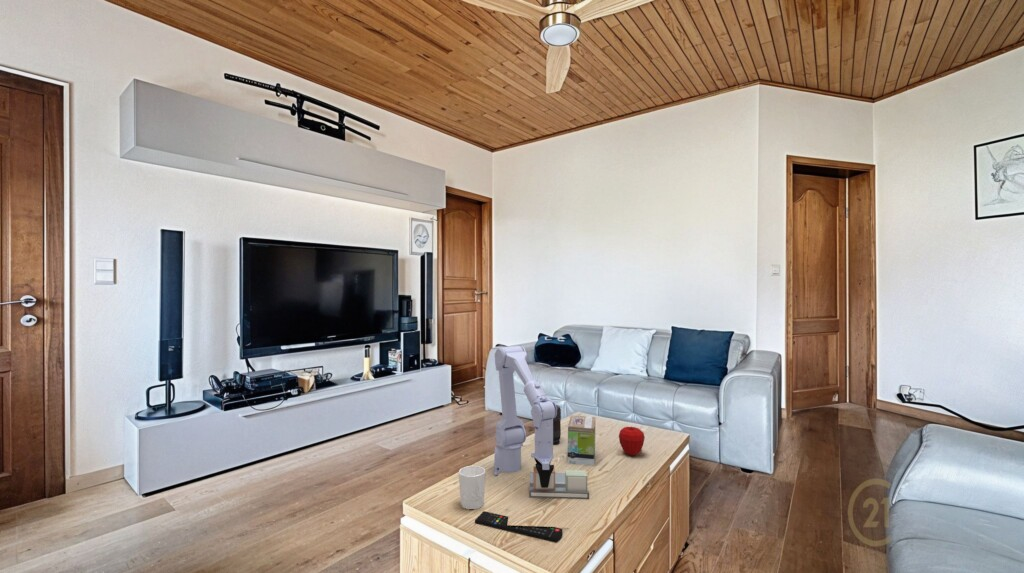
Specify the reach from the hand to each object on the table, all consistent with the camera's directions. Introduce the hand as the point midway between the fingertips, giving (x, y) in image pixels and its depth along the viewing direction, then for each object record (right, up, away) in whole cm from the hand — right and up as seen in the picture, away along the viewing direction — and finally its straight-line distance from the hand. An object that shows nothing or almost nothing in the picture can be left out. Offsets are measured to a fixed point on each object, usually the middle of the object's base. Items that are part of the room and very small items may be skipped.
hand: (543, 483), depth 136 cm
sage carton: (+10, -2, -1) cm, 10 cm away
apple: (+37, -4, +34) cm, 50 cm away
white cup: (-22, -4, -6) cm, 23 cm away
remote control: (-8, -4, -18) cm, 21 cm away
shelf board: (+5, -4, +5) cm, 8 cm away
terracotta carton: (0, -2, 0) cm, 2 cm away
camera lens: (+6, -4, +47) cm, 47 cm away
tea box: (+16, -4, +28) cm, 33 cm away
